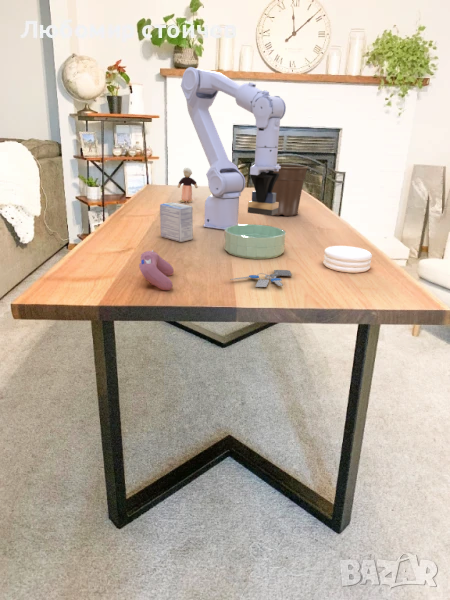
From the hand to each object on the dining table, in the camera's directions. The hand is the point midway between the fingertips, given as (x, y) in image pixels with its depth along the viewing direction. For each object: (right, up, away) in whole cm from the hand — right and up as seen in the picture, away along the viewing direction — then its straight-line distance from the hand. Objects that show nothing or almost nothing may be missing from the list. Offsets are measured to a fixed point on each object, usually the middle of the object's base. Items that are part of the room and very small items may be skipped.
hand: (263, 201), depth 118 cm
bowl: (-3, -15, -12) cm, 20 cm away
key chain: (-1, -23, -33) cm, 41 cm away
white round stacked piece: (+16, -19, -22) cm, 33 cm away
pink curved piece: (-23, -23, -36) cm, 48 cm away
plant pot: (+9, +4, +36) cm, 38 cm away
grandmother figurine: (-25, +11, +52) cm, 59 cm away
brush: (0, -3, +1) cm, 3 cm away
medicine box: (-23, -11, -3) cm, 25 cm away
